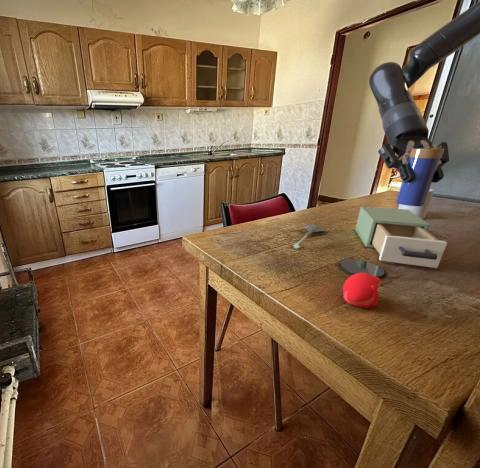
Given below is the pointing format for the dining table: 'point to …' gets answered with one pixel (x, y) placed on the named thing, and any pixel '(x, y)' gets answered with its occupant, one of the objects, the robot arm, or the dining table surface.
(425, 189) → the spice jar
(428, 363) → the dining table surface
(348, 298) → the cap
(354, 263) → the coaster
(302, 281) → the dining table surface
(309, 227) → the grey spatula
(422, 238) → the drawer
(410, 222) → the cabinet
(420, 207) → the mug
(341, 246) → the dining table surface
